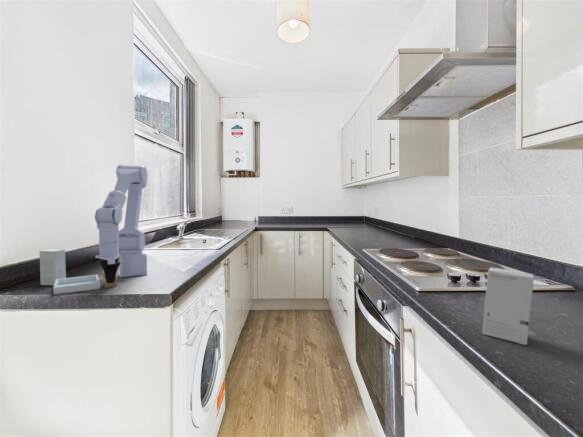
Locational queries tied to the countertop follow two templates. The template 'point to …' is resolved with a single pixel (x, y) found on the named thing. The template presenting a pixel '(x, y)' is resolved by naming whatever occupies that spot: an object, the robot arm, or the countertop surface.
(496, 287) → the skincare box
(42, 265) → the skincare box
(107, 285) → the birch cylinder
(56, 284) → the tray
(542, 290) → the countertop surface
